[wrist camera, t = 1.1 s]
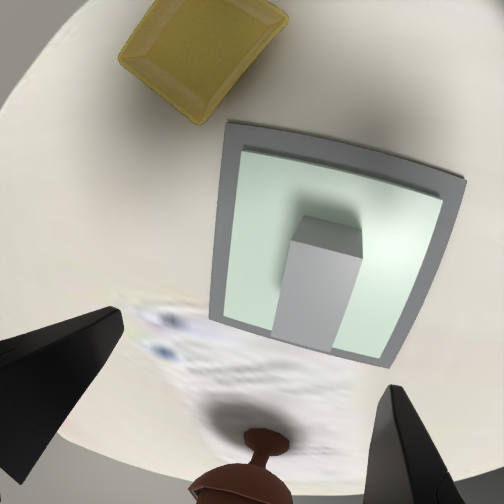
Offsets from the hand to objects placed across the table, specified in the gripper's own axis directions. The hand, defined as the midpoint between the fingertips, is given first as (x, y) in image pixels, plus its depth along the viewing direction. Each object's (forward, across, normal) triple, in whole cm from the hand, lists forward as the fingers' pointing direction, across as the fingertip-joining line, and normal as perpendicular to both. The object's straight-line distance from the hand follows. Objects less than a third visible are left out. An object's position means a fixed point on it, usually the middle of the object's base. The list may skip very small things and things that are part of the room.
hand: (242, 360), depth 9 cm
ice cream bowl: (+12, 0, +26) cm, 29 cm away
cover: (+12, -2, +2) cm, 12 cm away
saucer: (+13, +8, -12) cm, 19 cm away
